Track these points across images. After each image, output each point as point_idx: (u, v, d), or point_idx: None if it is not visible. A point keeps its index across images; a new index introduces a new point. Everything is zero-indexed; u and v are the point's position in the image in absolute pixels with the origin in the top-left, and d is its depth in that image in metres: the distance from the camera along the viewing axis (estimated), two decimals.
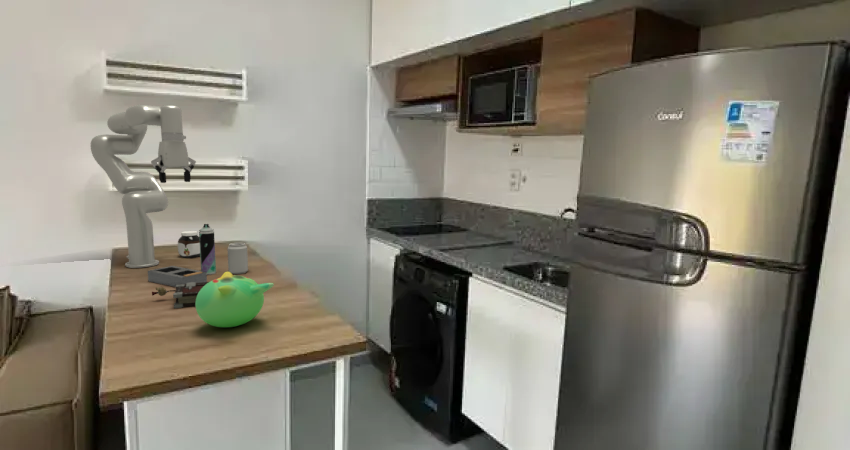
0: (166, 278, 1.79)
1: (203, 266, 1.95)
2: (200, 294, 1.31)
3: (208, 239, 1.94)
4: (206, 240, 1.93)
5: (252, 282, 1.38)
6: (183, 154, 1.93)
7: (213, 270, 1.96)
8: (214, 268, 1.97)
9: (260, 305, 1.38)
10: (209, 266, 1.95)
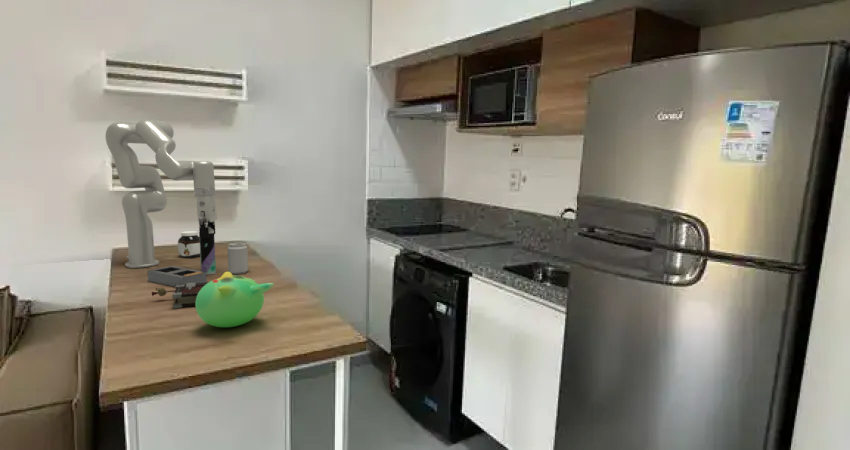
0: (166, 278, 1.79)
1: (203, 266, 1.95)
2: (200, 294, 1.31)
3: (208, 239, 1.94)
4: (206, 240, 1.93)
5: (252, 282, 1.38)
6: None
7: (213, 270, 1.96)
8: (214, 268, 1.97)
9: (260, 305, 1.38)
10: (209, 266, 1.95)
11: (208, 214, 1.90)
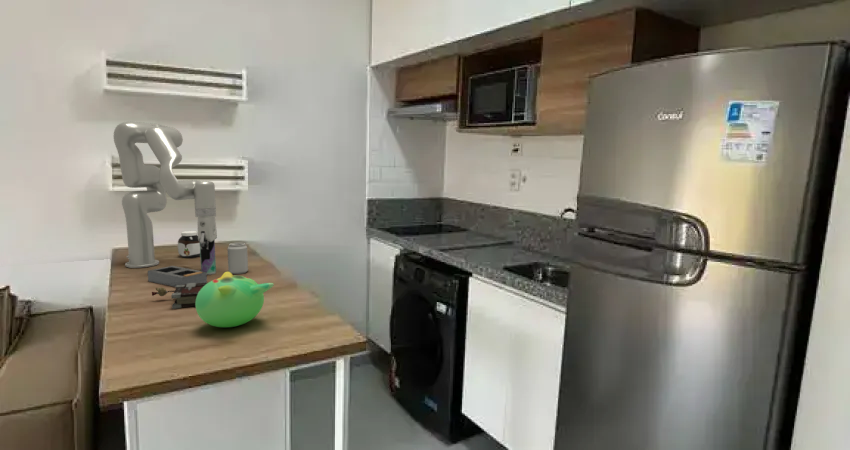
0: (166, 278, 1.79)
1: (203, 266, 1.95)
2: (200, 294, 1.31)
3: None
4: (206, 240, 1.93)
5: (252, 282, 1.38)
6: None
7: (213, 270, 1.96)
8: (214, 268, 1.97)
9: (260, 305, 1.38)
10: (209, 266, 1.95)
11: (208, 234, 1.91)
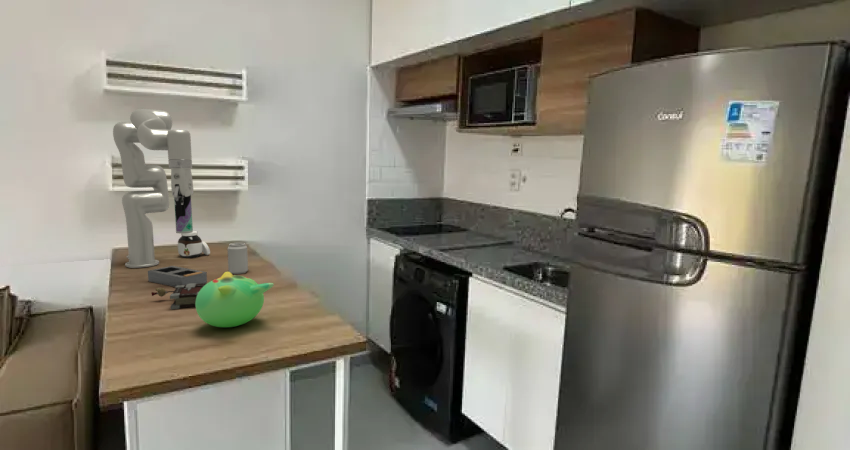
0: (166, 278, 1.79)
1: (178, 224, 1.76)
2: (200, 294, 1.31)
3: None
4: None
5: (252, 282, 1.38)
6: None
7: (189, 229, 1.78)
8: (190, 227, 1.79)
9: (260, 305, 1.38)
10: (185, 224, 1.77)
11: (183, 188, 1.73)
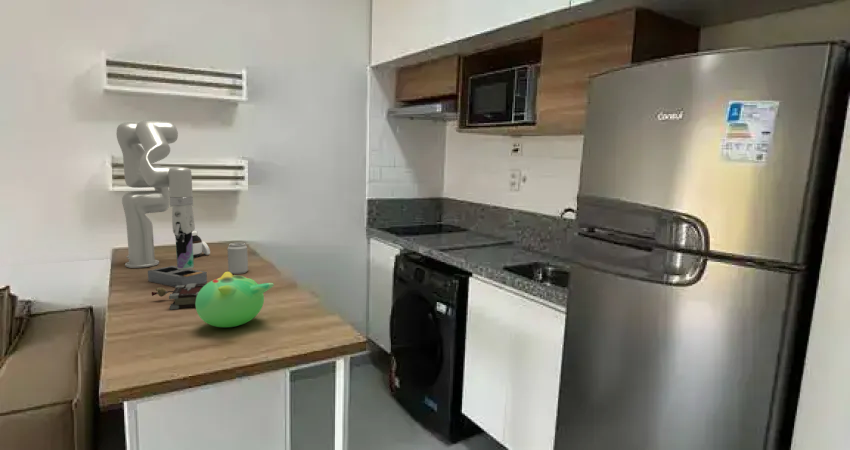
0: (166, 278, 1.79)
1: (179, 261, 1.78)
2: (200, 294, 1.31)
3: None
4: None
5: (252, 282, 1.38)
6: None
7: (190, 265, 1.79)
8: (191, 263, 1.80)
9: (260, 305, 1.38)
10: (186, 260, 1.78)
11: (184, 225, 1.74)
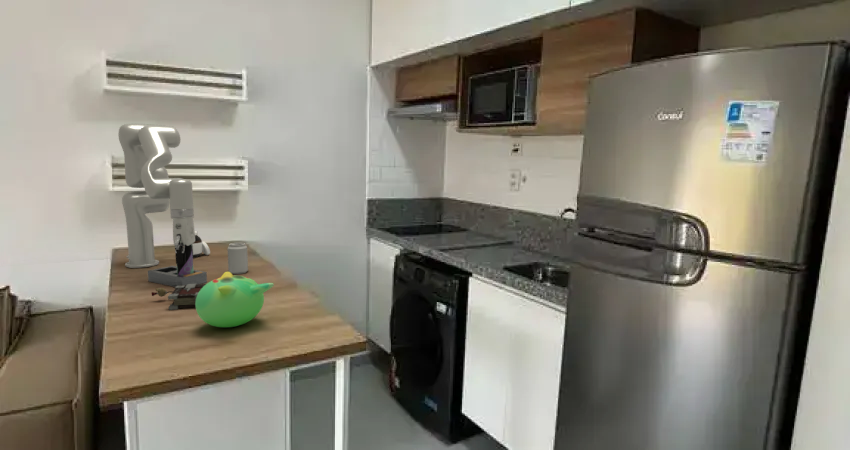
0: (166, 278, 1.79)
1: None
2: (200, 294, 1.31)
3: (185, 247, 1.77)
4: None
5: (252, 282, 1.38)
6: None
7: None
8: None
9: (260, 305, 1.38)
10: None
11: (185, 237, 1.74)
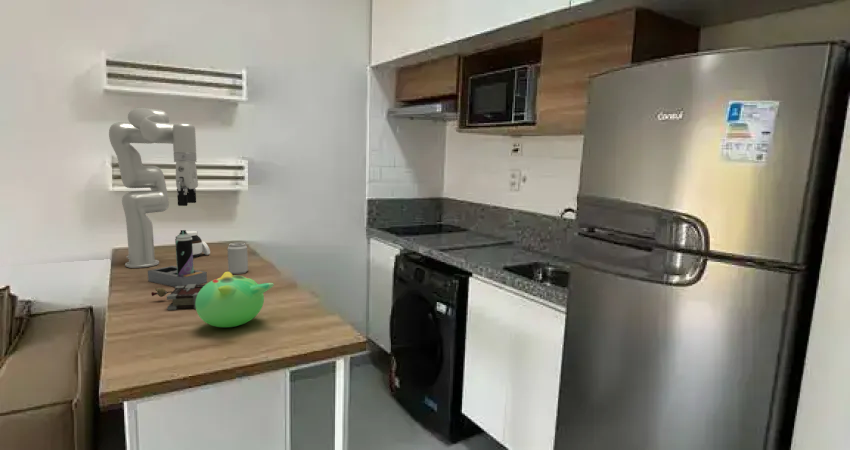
0: (166, 278, 1.79)
1: None
2: (200, 294, 1.31)
3: (185, 247, 1.77)
4: (183, 248, 1.77)
5: (252, 282, 1.38)
6: None
7: None
8: None
9: (260, 305, 1.38)
10: None
11: (187, 180, 1.78)
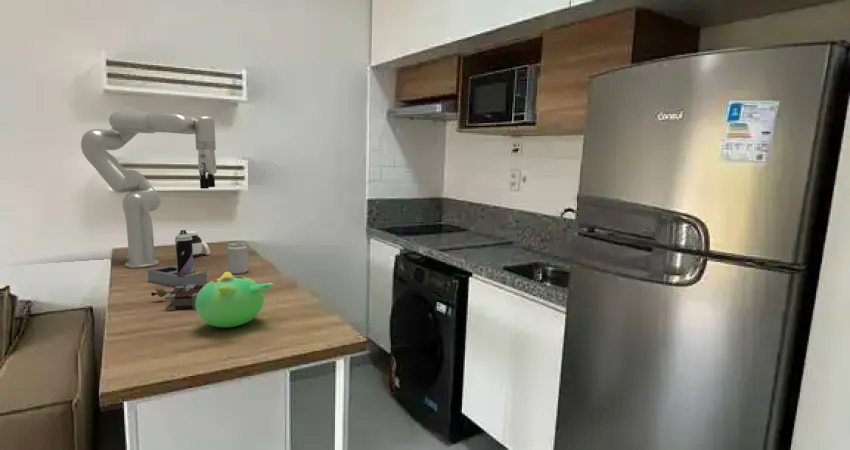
0: (166, 278, 1.79)
1: None
2: (200, 294, 1.31)
3: (185, 247, 1.77)
4: (183, 248, 1.77)
5: (252, 282, 1.38)
6: None
7: None
8: None
9: (260, 305, 1.38)
10: None
11: (208, 166, 2.01)
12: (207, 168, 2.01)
